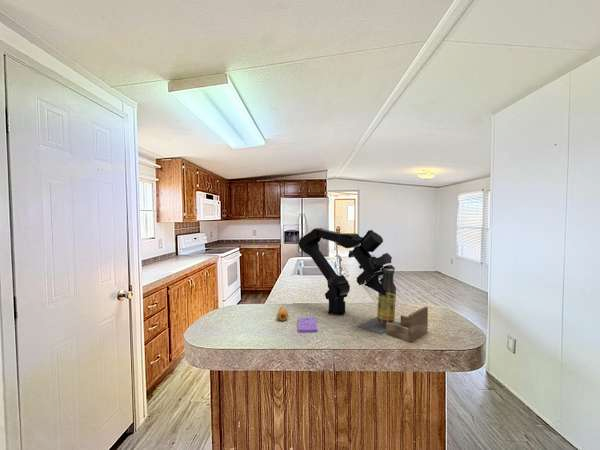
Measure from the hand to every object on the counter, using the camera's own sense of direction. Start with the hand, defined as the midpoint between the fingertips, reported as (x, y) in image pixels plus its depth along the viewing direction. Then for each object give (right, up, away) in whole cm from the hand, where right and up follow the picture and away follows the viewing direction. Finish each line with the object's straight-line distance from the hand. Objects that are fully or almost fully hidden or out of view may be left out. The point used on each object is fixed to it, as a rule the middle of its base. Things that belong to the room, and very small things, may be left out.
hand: (390, 293), depth 111 cm
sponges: (-30, -14, +4) cm, 34 cm away
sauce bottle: (-1, -11, +2) cm, 11 cm away
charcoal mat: (-3, -13, +4) cm, 14 cm away
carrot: (-40, -13, +18) cm, 46 cm away
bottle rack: (+4, -13, -4) cm, 14 cm away
